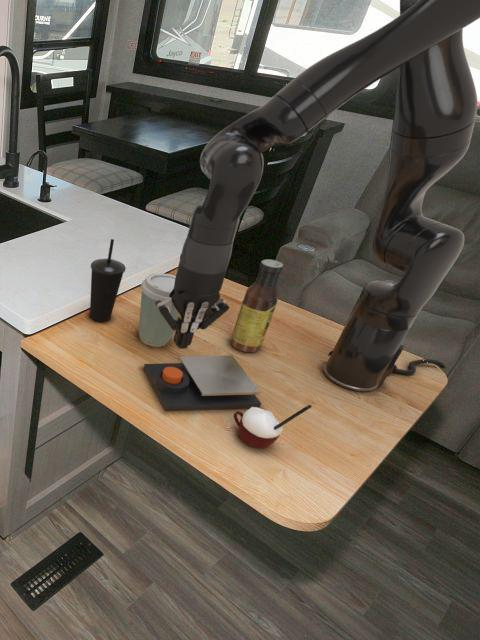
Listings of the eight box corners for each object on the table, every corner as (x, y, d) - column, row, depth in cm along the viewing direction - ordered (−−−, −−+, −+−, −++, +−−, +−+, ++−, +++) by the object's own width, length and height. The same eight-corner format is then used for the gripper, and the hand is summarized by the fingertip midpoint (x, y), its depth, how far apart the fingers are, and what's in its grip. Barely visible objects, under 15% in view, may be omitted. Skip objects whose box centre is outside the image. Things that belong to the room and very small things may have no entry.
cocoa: (223, 426, 94) (243, 374, 87) (254, 421, 95) (276, 369, 88) (256, 465, 86) (280, 412, 79) (289, 460, 87) (316, 407, 80)
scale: (228, 366, 108) (232, 355, 107) (259, 408, 98) (264, 396, 96) (141, 369, 108) (144, 357, 106) (163, 411, 97) (167, 399, 95)
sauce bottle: (263, 355, 112) (295, 272, 100) (232, 352, 113) (261, 269, 101) (255, 338, 117) (285, 258, 106) (226, 335, 118) (253, 255, 107)
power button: (177, 372, 103) (178, 366, 102) (183, 384, 100) (185, 377, 99) (159, 373, 102) (160, 366, 102) (165, 384, 100) (167, 378, 99)
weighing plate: (231, 357, 106) (232, 355, 106) (259, 394, 96) (260, 391, 96) (178, 358, 106) (179, 356, 105) (201, 396, 96) (202, 393, 96)
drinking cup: (78, 312, 127) (88, 235, 115) (105, 307, 128) (118, 231, 117) (93, 328, 121) (105, 248, 109) (122, 322, 122) (137, 244, 111)
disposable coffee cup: (151, 322, 123) (164, 264, 114) (189, 343, 115) (207, 284, 107) (120, 336, 118) (131, 277, 109) (158, 359, 111) (174, 298, 102)
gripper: (172, 273, 84) (152, 359, 94) (253, 271, 84) (224, 357, 94) (157, 253, 90) (139, 335, 100) (232, 251, 90) (207, 333, 100)
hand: (181, 345), depth 97 cm, fingers closed
